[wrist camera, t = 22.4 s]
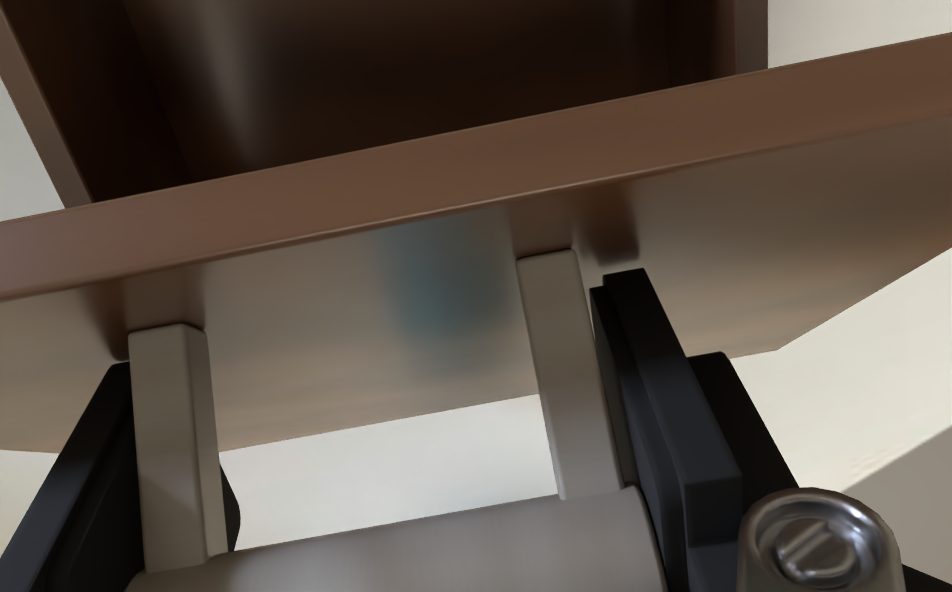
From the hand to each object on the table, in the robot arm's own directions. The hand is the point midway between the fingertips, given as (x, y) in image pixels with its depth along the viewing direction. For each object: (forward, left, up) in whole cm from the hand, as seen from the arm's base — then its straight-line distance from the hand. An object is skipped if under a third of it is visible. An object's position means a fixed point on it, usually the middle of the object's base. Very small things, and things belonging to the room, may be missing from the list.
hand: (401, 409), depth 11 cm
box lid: (+1, -1, -4) cm, 4 cm away
